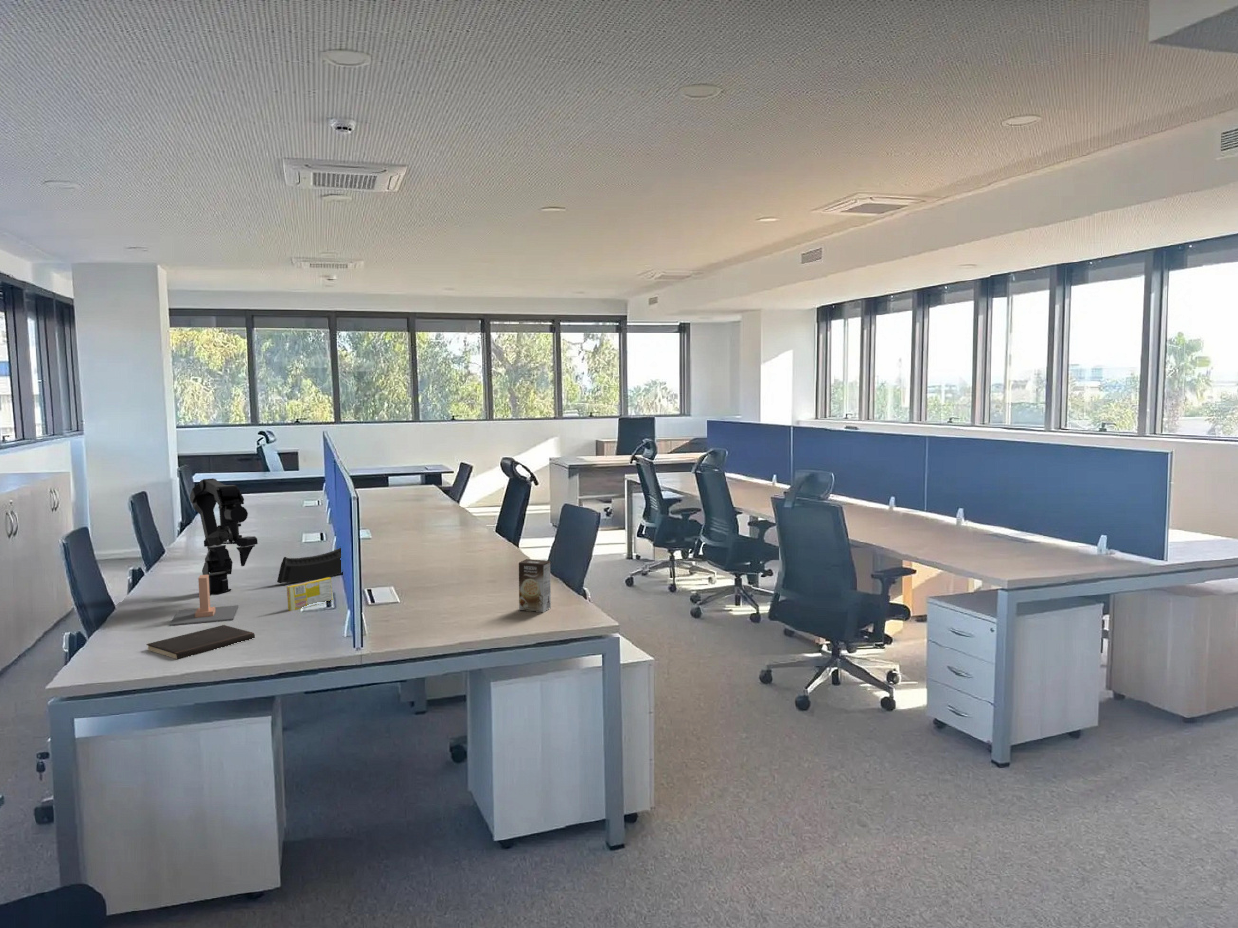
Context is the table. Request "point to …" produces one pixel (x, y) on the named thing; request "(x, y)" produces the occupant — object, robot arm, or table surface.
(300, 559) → the magazine
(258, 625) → the table surface
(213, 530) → the robot arm
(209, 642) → the hardcover book
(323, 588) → the candy box
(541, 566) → the coffee box
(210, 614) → the pink block bookend
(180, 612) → the mat
